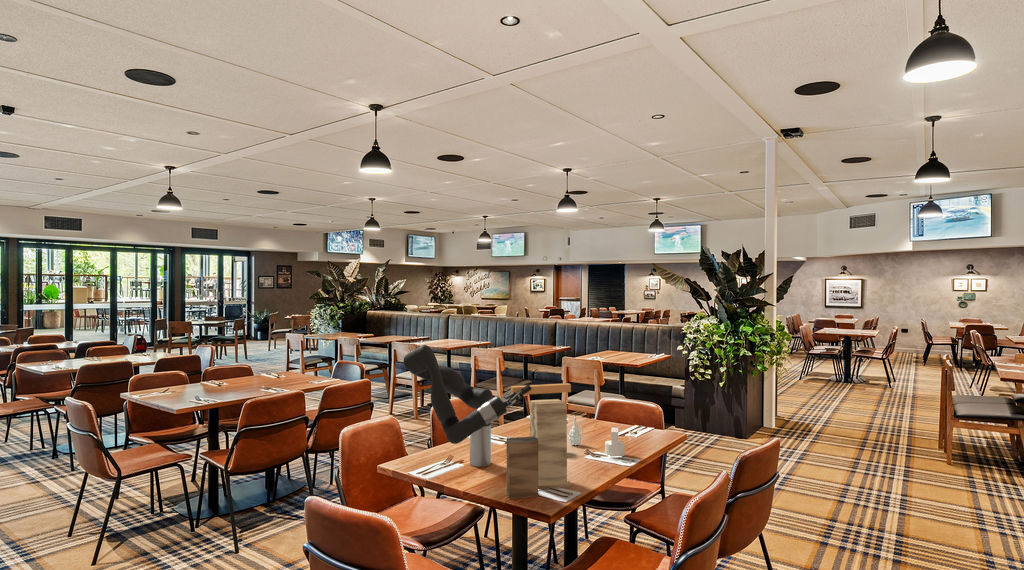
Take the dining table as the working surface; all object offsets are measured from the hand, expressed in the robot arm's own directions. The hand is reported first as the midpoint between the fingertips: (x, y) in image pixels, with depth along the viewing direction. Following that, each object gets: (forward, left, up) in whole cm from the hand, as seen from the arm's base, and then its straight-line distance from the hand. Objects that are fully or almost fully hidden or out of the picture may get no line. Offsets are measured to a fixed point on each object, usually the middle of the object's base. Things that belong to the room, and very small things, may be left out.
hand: (528, 386), depth 218 cm
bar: (0, +5, -3) cm, 6 cm away
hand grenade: (-50, +39, -39) cm, 74 cm away
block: (+10, -5, -39) cm, 40 cm away
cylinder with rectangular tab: (-29, +50, -39) cm, 70 cm away
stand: (0, +8, -39) cm, 39 cm away
